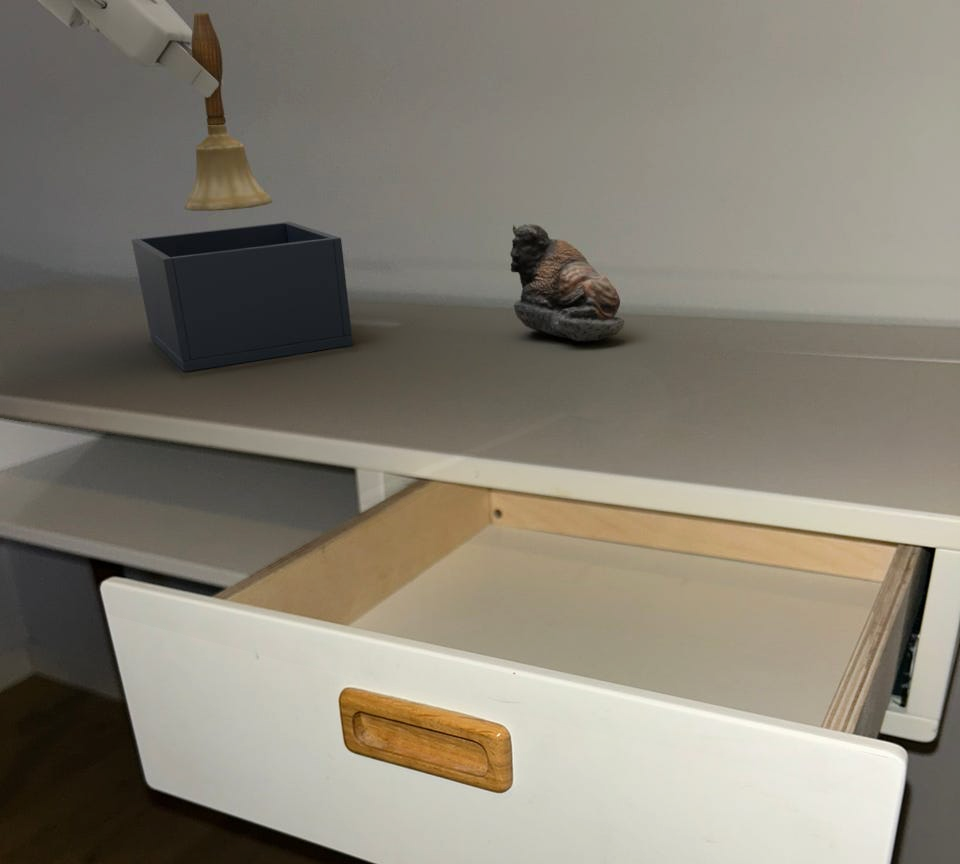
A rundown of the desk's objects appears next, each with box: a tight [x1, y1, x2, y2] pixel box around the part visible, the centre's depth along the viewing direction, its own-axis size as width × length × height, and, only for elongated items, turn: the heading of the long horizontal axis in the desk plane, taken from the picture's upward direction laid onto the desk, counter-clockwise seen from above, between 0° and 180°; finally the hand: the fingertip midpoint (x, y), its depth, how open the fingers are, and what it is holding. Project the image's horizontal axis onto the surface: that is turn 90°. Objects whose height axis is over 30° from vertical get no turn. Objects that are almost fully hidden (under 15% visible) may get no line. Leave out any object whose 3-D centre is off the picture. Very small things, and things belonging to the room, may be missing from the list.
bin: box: [131, 221, 354, 373], centre depth 106 cm, size 17×17×10 cm
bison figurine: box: [509, 223, 625, 343], centre depth 100 cm, size 12×7×10 cm, turn 47°
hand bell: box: [183, 12, 273, 212], centre depth 98 cm, size 8×8×16 cm
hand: (217, 91), depth 98 cm, fingers closed on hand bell, 2 cm apart
